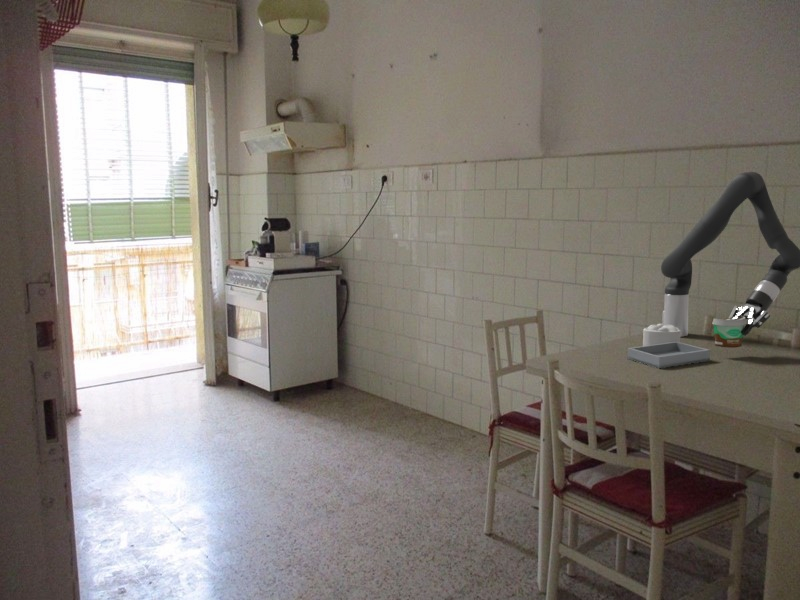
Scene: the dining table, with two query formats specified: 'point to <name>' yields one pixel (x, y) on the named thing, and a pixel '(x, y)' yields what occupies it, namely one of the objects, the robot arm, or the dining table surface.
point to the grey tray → (668, 354)
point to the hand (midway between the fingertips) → (736, 332)
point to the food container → (729, 332)
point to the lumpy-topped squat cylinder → (660, 334)
